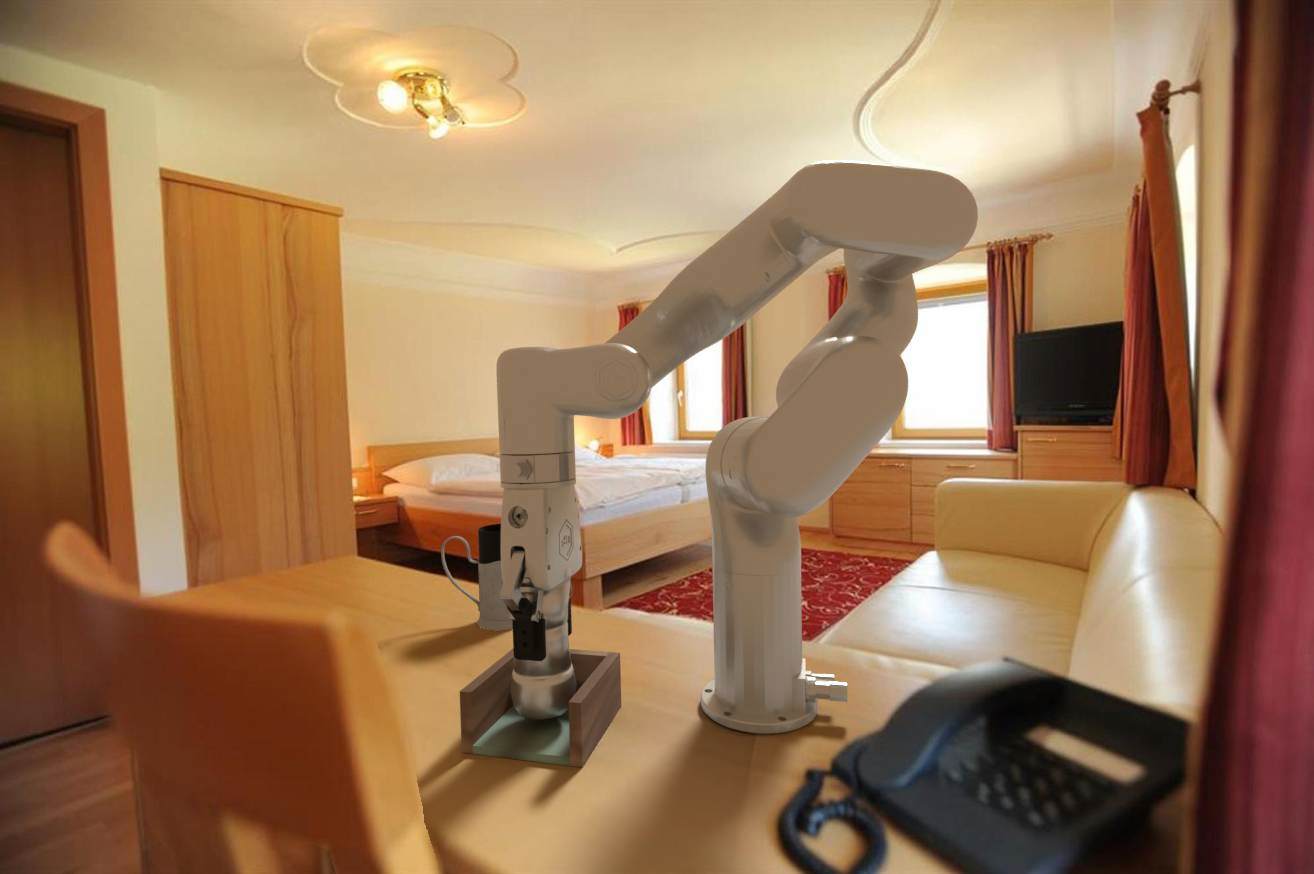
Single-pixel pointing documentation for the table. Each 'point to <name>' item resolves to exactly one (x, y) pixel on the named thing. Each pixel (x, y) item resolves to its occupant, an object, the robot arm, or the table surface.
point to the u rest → (553, 740)
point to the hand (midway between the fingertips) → (544, 644)
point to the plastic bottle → (547, 661)
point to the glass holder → (487, 579)
